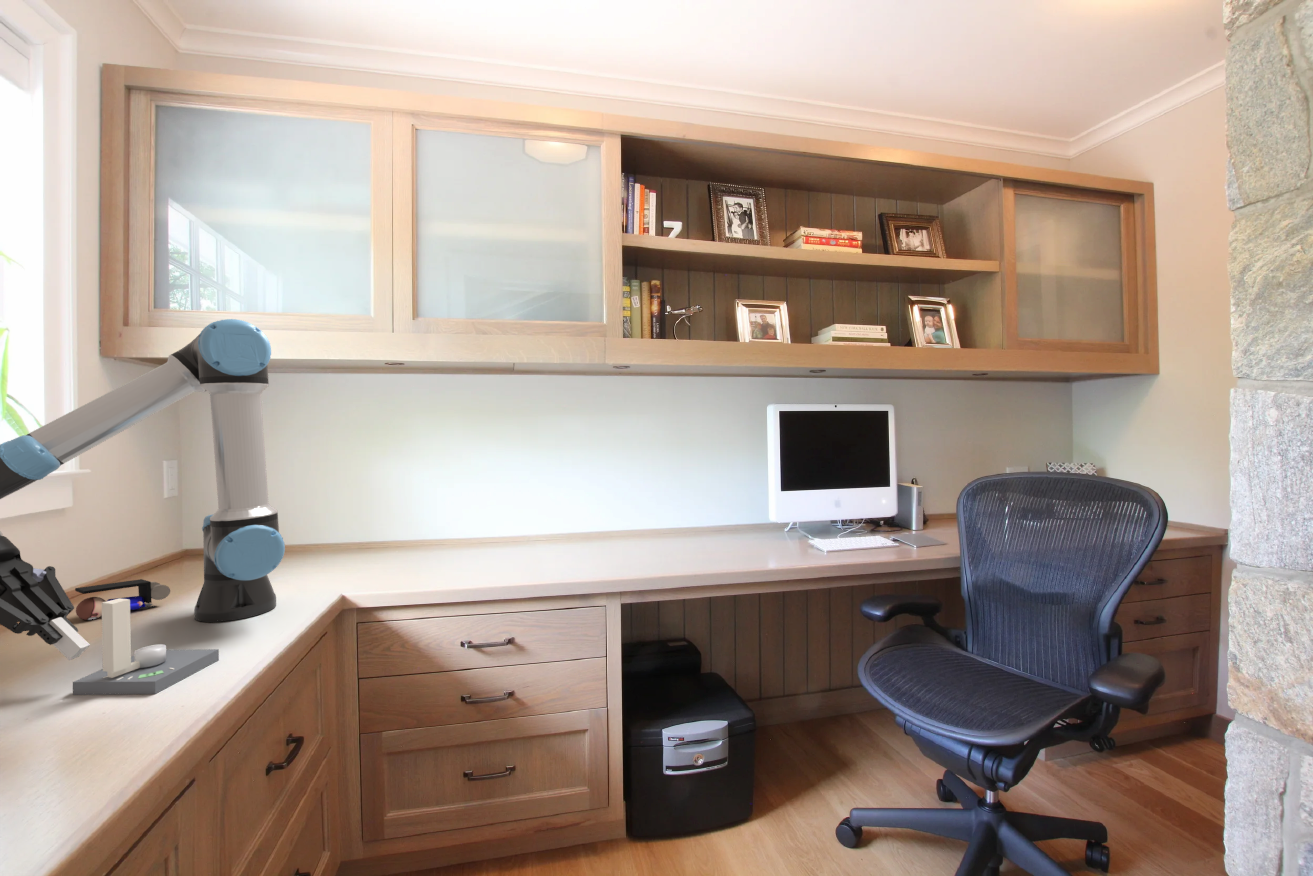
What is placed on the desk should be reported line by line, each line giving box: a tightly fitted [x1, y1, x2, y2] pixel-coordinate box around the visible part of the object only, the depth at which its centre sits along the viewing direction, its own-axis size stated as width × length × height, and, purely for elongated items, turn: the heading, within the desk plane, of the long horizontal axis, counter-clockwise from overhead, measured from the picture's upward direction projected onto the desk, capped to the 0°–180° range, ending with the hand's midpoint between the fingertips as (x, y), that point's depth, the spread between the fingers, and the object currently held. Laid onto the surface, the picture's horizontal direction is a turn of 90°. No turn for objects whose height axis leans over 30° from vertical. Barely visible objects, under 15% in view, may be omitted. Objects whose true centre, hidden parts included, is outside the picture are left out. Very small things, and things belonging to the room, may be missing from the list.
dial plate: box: [72, 648, 220, 696], centre depth 95 cm, size 13×13×2 cm
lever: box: [101, 597, 167, 678], centre depth 93 cm, size 8×4×12 cm, turn 166°
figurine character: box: [74, 578, 171, 621], centre depth 129 cm, size 7×8×15 cm
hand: (79, 652), depth 90 cm, fingers closed
